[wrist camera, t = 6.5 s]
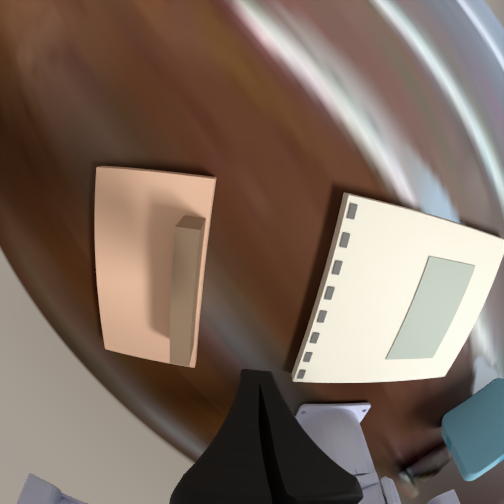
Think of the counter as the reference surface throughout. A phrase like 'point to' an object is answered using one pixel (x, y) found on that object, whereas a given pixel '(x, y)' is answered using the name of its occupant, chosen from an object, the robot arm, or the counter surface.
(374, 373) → the board
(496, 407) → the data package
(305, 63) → the counter surface
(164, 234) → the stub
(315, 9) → the counter surface
